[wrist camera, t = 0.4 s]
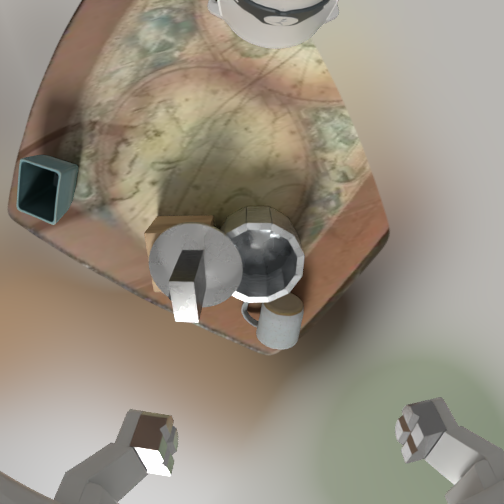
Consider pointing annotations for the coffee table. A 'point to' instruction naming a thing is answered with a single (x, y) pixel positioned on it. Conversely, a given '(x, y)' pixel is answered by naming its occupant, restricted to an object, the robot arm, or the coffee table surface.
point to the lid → (195, 267)
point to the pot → (265, 253)
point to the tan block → (166, 222)
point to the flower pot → (46, 187)
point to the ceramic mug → (278, 321)
